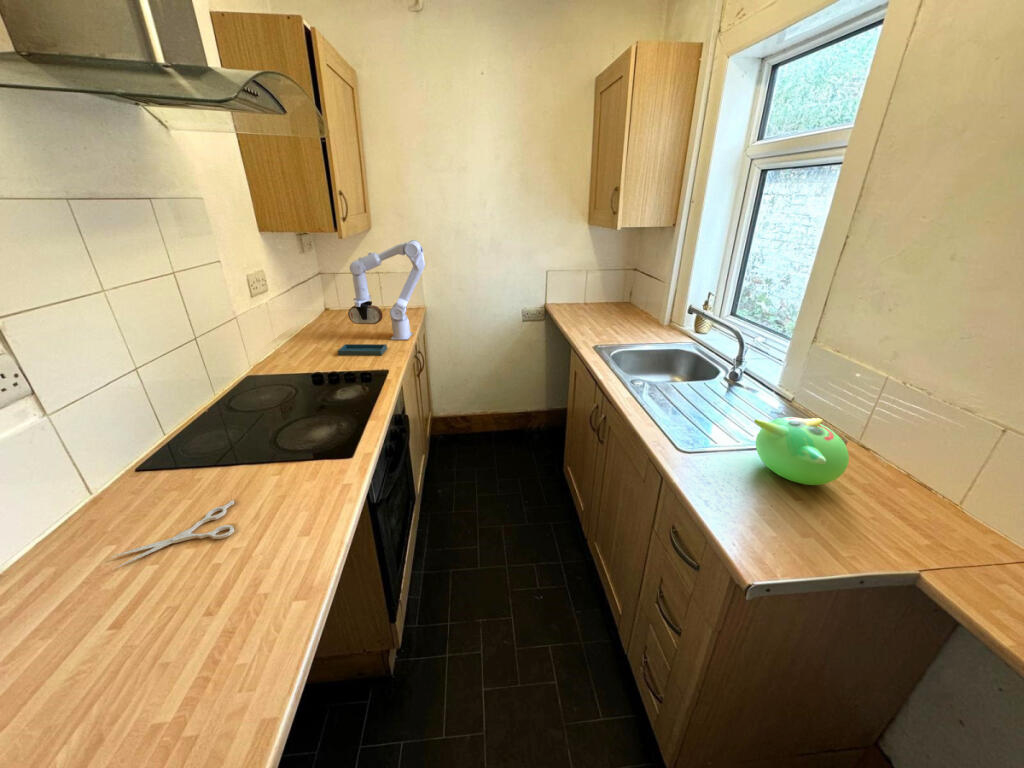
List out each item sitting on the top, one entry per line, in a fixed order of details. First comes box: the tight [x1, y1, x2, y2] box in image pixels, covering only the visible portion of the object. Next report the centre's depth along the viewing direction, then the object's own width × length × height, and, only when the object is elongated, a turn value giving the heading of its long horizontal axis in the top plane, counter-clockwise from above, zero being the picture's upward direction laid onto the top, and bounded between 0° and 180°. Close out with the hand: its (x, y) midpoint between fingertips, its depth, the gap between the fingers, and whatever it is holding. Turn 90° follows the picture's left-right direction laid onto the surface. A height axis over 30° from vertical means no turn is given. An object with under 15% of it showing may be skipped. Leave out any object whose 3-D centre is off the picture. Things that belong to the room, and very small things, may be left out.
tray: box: [337, 343, 388, 357], centre depth 175 cm, size 8×18×2 cm, turn 89°
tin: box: [347, 305, 384, 325], centre depth 188 cm, size 15×3×8 cm, turn 88°
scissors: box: [111, 499, 235, 570], centre depth 80 cm, size 11×1×20 cm
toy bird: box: [753, 416, 850, 486], centre depth 95 cm, size 18×17×15 cm
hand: (365, 318), depth 188 cm, fingers closed on tin, 2 cm apart
